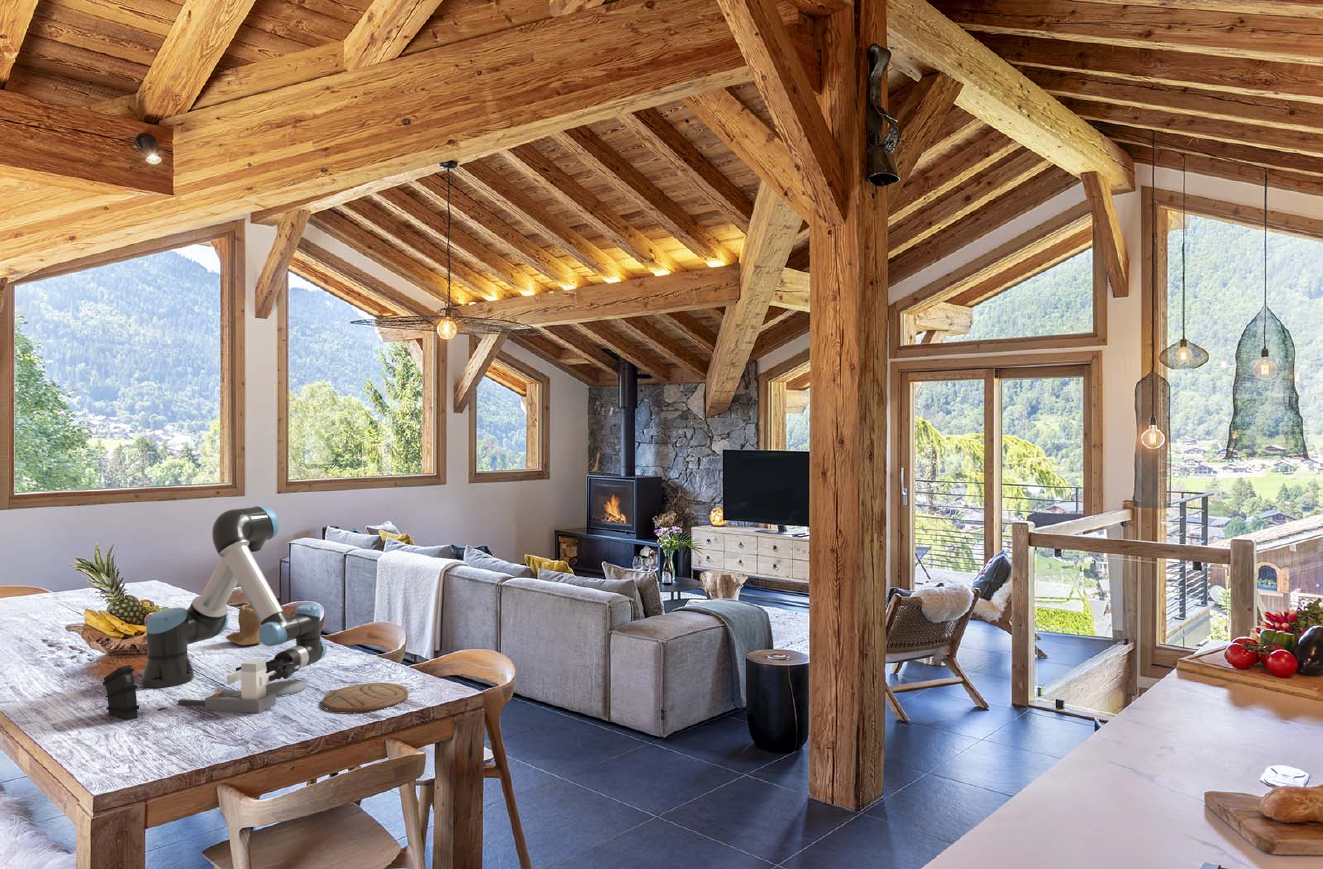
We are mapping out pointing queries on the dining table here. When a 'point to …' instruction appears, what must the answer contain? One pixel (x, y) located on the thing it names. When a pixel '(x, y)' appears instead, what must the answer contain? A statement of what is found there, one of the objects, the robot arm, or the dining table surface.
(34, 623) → the dining table surface
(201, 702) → the power strip
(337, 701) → the trivet
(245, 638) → the brown boot
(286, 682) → the mat
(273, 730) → the dining table surface
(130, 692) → the magazine
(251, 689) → the block
